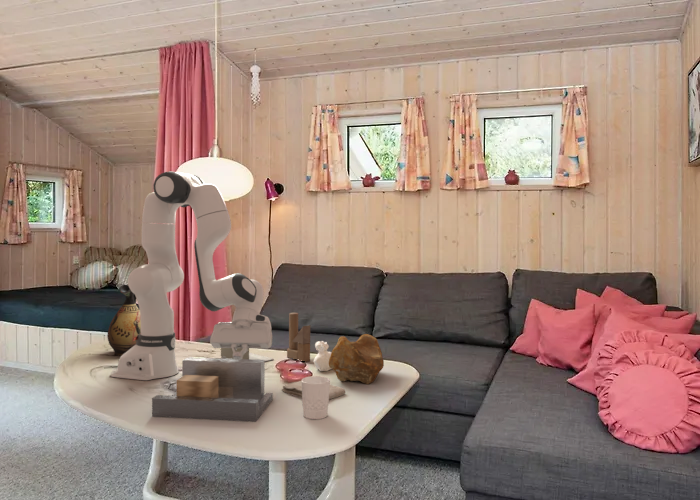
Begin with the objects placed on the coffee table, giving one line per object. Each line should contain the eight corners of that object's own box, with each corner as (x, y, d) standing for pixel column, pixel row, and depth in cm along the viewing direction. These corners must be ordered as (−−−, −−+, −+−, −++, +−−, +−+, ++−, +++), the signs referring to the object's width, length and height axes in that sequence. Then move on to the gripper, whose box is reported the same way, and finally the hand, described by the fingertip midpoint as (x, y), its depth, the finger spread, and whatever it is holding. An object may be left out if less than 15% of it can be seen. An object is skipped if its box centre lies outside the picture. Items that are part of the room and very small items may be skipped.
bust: (332, 371, 208) (317, 345, 211) (345, 361, 205) (330, 335, 208) (314, 378, 198) (298, 351, 201) (328, 368, 194) (312, 340, 198)
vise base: (152, 416, 150) (152, 398, 150) (180, 395, 169) (180, 379, 169) (255, 421, 147) (256, 403, 147) (272, 399, 166) (272, 383, 166)
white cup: (301, 410, 156) (301, 376, 156) (328, 410, 157) (329, 375, 156) (301, 420, 148) (301, 384, 148) (330, 420, 149) (330, 383, 149)
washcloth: (304, 385, 183) (304, 376, 183) (347, 395, 172) (347, 385, 172) (279, 393, 174) (279, 383, 174) (322, 404, 163) (322, 394, 163)
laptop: (274, 360, 215) (274, 327, 215) (248, 366, 206) (248, 332, 205) (246, 353, 227) (246, 322, 227) (220, 358, 218) (220, 325, 217)
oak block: (176, 412, 154) (176, 380, 153) (185, 405, 160) (185, 374, 159) (211, 413, 153) (211, 381, 152) (218, 406, 159) (218, 376, 158)
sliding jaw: (182, 400, 164) (182, 360, 164) (187, 395, 168) (187, 357, 168) (260, 403, 162) (261, 363, 161) (264, 399, 166) (264, 359, 165)
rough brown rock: (360, 394, 175) (365, 348, 174) (320, 380, 185) (324, 337, 184) (398, 381, 194) (403, 339, 193) (360, 369, 204) (364, 329, 203)
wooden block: (302, 362, 212) (303, 316, 211) (286, 357, 220) (287, 312, 219) (310, 361, 214) (311, 315, 213) (294, 356, 222) (294, 312, 221)
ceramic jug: (139, 358, 215) (139, 282, 214) (100, 357, 215) (100, 281, 214) (155, 348, 232) (155, 278, 231) (119, 348, 232) (119, 277, 231)
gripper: (213, 316, 184) (203, 352, 174) (273, 317, 182) (266, 353, 173) (217, 327, 188) (208, 362, 179) (276, 328, 187) (269, 363, 177)
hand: (237, 358), depth 176 cm, fingers closed
